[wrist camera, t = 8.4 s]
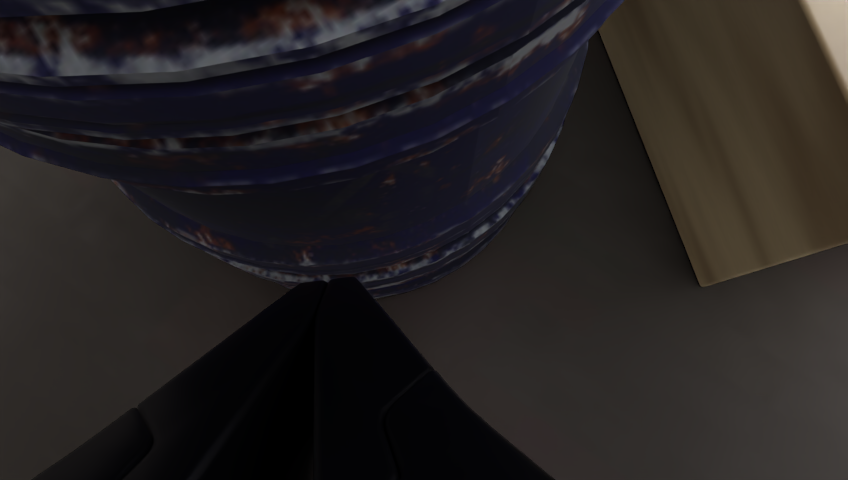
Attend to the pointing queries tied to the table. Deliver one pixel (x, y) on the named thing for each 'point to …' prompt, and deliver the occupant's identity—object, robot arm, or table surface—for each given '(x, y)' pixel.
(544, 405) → the table surface
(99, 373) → the table surface
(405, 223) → the blue barrel
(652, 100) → the birch block
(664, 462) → the table surface
